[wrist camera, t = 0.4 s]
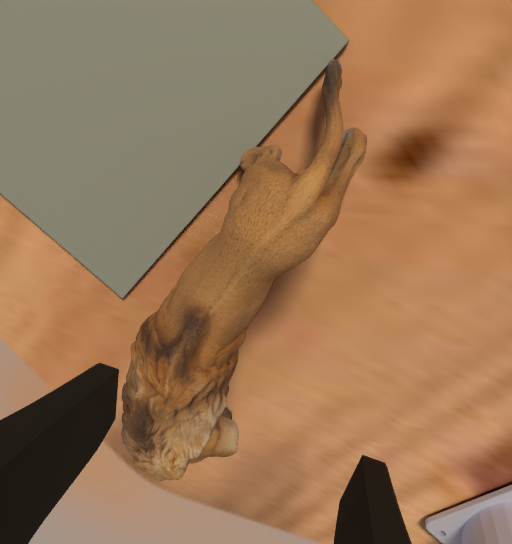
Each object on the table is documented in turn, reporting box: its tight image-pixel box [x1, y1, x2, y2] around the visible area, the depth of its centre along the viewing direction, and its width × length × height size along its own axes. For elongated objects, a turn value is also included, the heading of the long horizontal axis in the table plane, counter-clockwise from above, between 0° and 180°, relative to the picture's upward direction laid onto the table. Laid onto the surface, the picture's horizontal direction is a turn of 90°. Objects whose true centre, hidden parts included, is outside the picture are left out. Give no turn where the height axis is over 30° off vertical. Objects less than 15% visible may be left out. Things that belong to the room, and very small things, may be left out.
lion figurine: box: [122, 59, 367, 481], centre depth 16 cm, size 15×5×9 cm, turn 158°
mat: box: [0, 0, 349, 298], centre depth 18 cm, size 12×16×1 cm
